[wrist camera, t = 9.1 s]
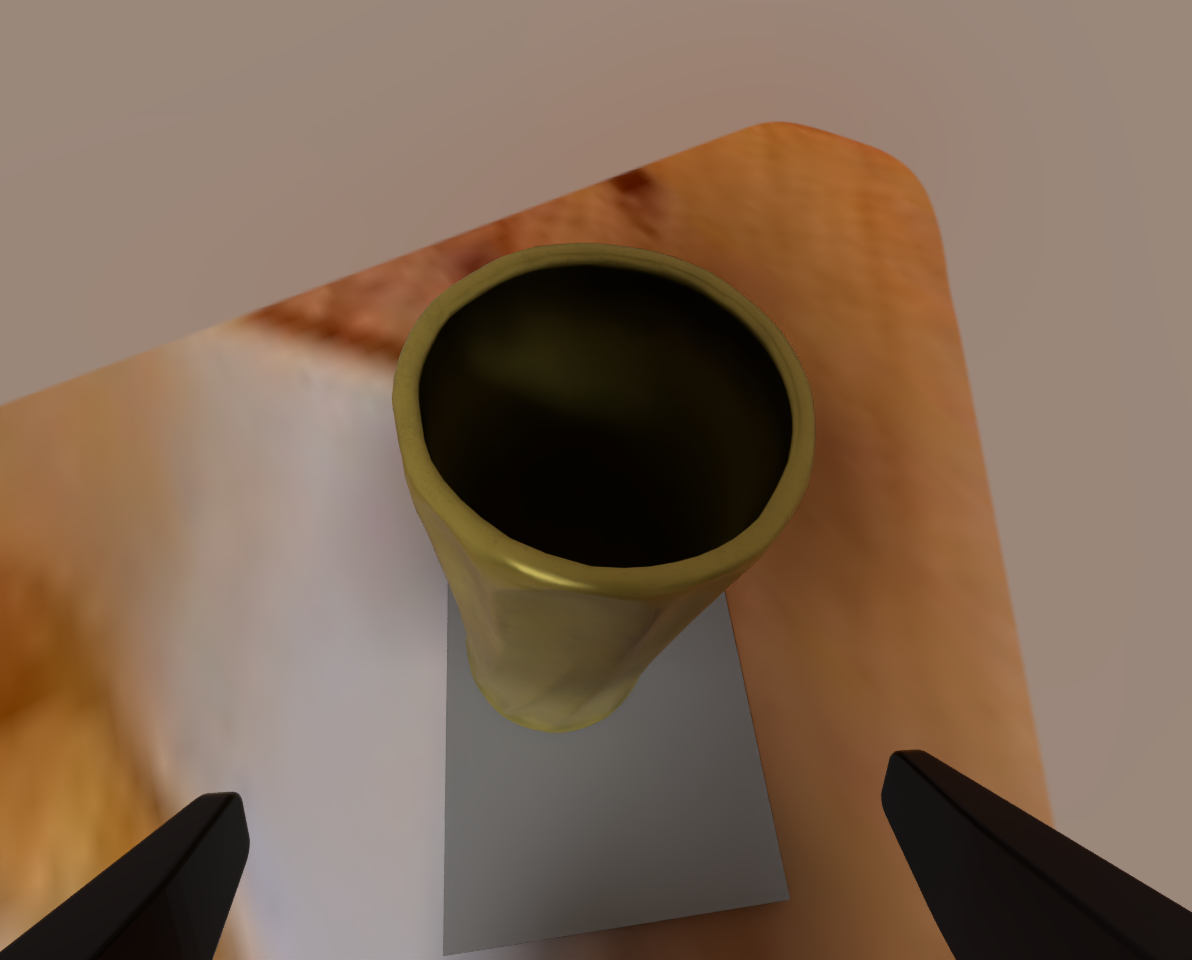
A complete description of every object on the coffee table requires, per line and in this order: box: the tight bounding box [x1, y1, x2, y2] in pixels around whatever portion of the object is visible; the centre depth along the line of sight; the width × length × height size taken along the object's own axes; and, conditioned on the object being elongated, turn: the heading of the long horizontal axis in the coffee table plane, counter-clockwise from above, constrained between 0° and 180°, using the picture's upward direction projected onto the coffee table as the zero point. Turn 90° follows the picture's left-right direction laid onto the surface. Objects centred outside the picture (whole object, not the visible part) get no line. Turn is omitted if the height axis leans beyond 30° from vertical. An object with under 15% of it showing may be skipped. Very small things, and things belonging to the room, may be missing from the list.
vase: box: [392, 243, 816, 733], centre depth 13 cm, size 6×6×14 cm
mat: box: [443, 583, 790, 956], centre depth 19 cm, size 13×10×1 cm
